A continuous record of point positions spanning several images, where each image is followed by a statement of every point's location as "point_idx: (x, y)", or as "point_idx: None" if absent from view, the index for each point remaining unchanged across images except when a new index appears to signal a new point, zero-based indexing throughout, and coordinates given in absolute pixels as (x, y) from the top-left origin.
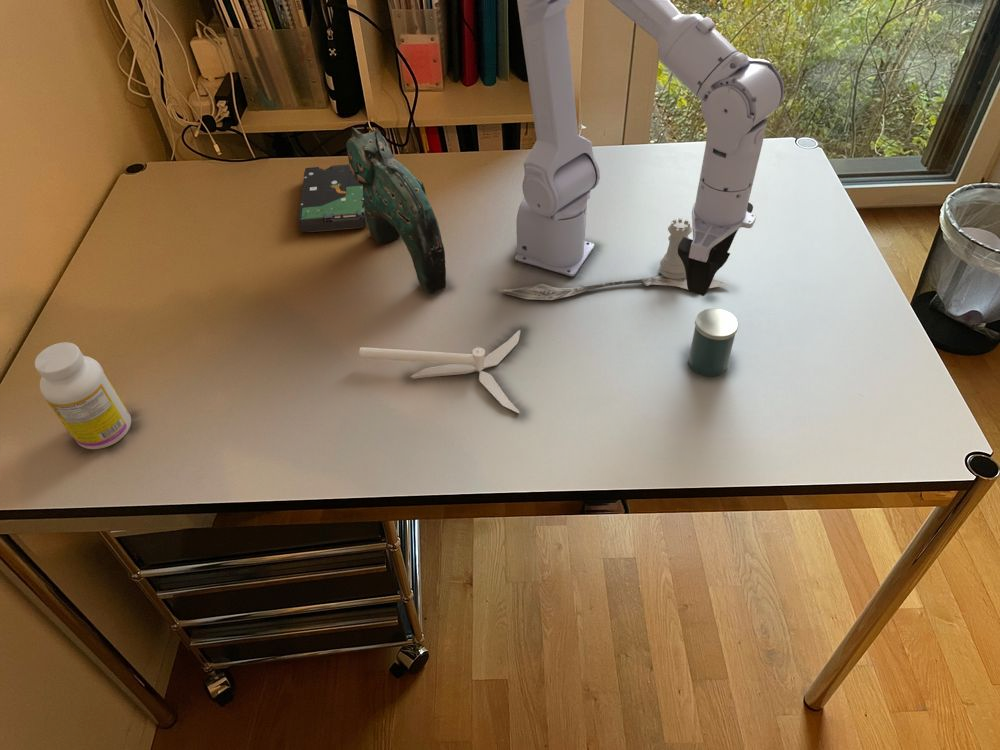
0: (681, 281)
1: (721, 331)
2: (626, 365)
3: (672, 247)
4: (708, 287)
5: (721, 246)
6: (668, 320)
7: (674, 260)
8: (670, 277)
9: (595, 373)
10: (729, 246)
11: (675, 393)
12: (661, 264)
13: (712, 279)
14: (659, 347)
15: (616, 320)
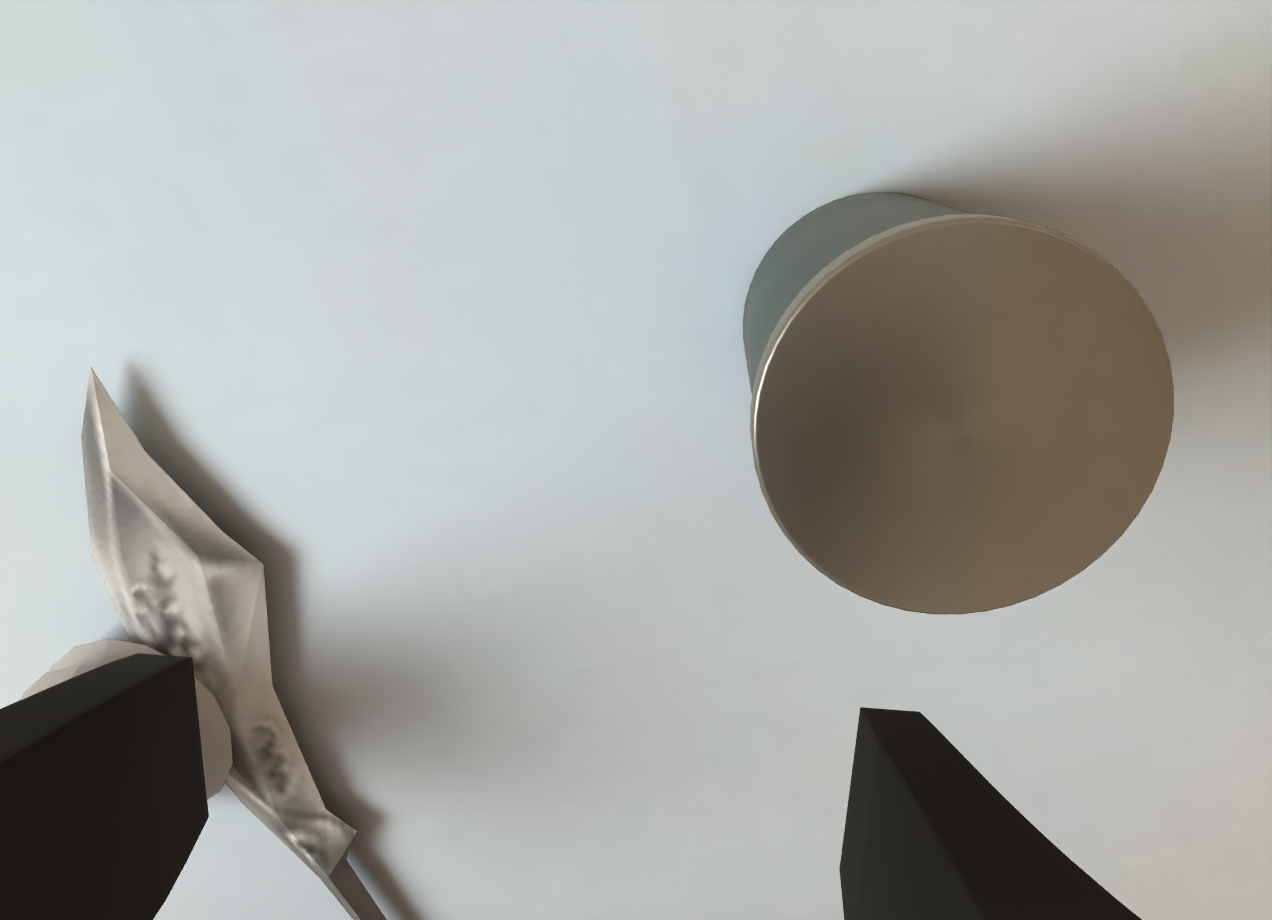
0: (222, 668)
1: (1084, 357)
2: (1053, 758)
3: None
4: (982, 778)
5: (97, 804)
6: (578, 640)
7: None
8: (226, 739)
9: (1168, 885)
10: (60, 732)
11: (1217, 444)
12: None
13: (1000, 844)
14: (836, 630)
15: (700, 893)
